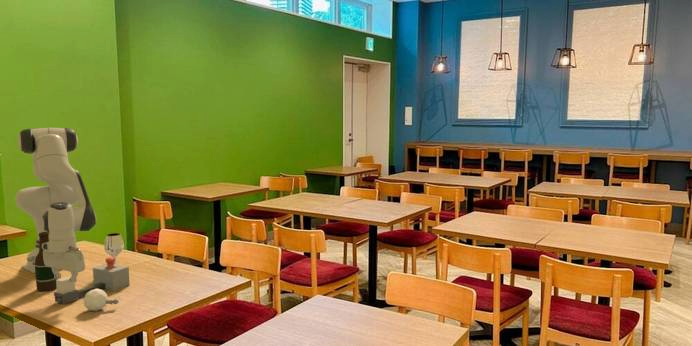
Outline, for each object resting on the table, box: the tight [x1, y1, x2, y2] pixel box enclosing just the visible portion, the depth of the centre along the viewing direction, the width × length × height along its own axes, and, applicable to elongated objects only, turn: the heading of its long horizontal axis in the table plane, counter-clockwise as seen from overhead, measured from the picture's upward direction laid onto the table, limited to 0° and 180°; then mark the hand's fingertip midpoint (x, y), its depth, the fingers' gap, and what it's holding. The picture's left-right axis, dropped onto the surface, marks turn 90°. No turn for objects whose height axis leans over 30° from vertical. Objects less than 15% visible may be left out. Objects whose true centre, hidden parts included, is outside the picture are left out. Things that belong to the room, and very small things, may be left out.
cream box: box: [53, 275, 79, 305], centre depth 193 cm, size 6×6×9 cm
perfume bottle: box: [83, 289, 119, 312], centre depth 186 cm, size 8×8×12 cm
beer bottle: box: [34, 232, 58, 293], centre depth 206 cm, size 8×8×24 cm
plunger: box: [105, 256, 115, 269], centre depth 211 cm, size 4×4×9 cm
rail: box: [56, 283, 106, 305], centre depth 199 cm, size 2×19×2 cm, turn 153°
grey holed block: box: [92, 263, 131, 292], centre depth 211 cm, size 12×8×8 cm, turn 63°
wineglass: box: [103, 232, 125, 264], centre depth 227 cm, size 8×8×18 cm
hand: (65, 280), depth 193 cm, fingers open, 8 cm apart
